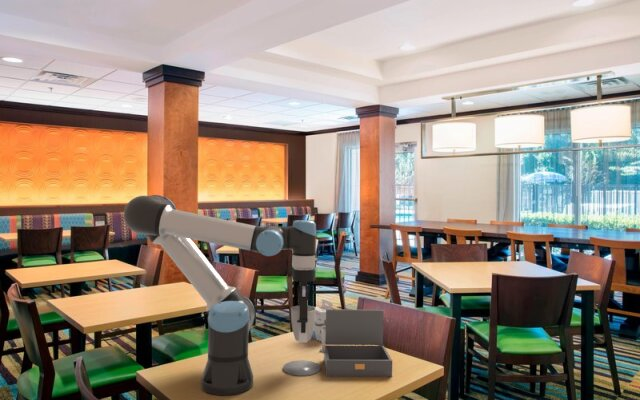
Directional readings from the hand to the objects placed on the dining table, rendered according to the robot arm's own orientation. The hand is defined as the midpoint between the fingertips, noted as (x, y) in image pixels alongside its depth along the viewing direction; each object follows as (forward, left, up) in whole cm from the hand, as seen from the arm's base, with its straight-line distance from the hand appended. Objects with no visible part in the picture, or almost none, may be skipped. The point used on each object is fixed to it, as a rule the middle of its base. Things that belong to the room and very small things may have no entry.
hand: (302, 338), depth 152 cm
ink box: (+8, +32, -10) cm, 34 cm away
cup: (0, 0, 0) cm, 0 cm away
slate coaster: (0, 0, -10) cm, 10 cm away
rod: (+11, +17, -10) cm, 22 cm away
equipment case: (+18, +1, -10) cm, 20 cm away
